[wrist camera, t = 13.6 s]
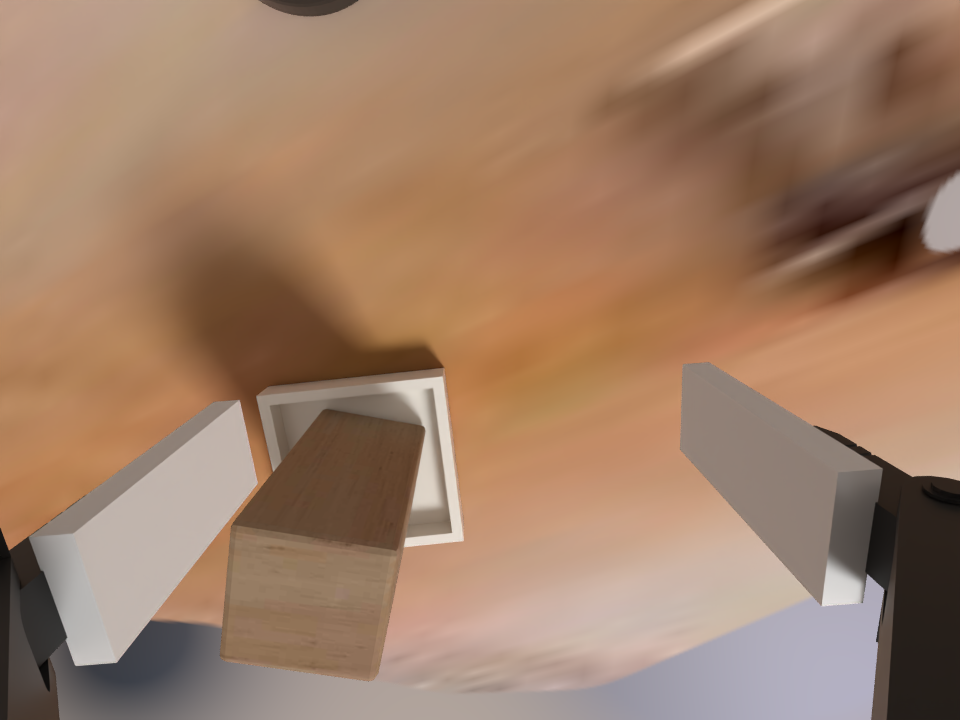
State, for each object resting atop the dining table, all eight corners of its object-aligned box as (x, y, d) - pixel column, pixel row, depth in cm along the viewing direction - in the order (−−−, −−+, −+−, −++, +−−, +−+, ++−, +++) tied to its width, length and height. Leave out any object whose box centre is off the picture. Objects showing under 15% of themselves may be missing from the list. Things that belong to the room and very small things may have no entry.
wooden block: (410, 515, 52) (375, 686, 33) (311, 499, 51) (215, 663, 32) (426, 424, 50) (400, 550, 30) (323, 406, 49) (227, 523, 30)
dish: (268, 386, 49) (256, 396, 47) (444, 367, 49) (442, 376, 46) (302, 540, 54) (292, 558, 51) (463, 523, 54) (463, 540, 51)
